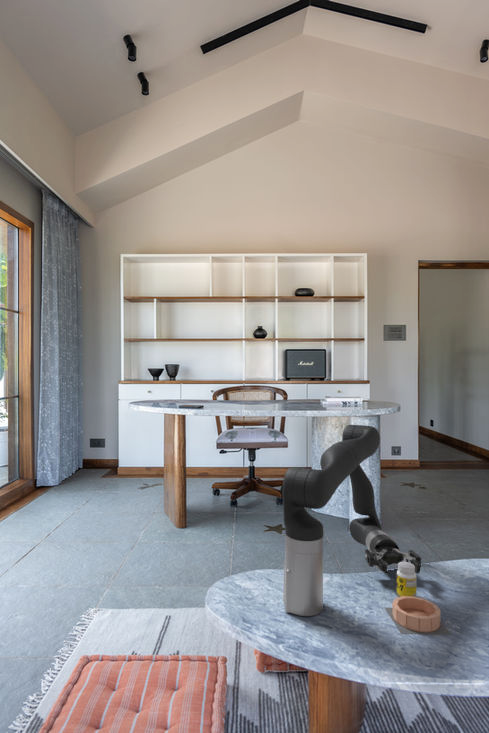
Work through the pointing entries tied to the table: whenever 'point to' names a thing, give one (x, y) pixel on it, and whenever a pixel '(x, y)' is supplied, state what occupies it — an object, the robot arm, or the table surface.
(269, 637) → the table surface
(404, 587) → the supplement bottle
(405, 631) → the mat
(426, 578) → the table surface
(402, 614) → the bowl
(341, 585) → the table surface
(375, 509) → the robot arm
